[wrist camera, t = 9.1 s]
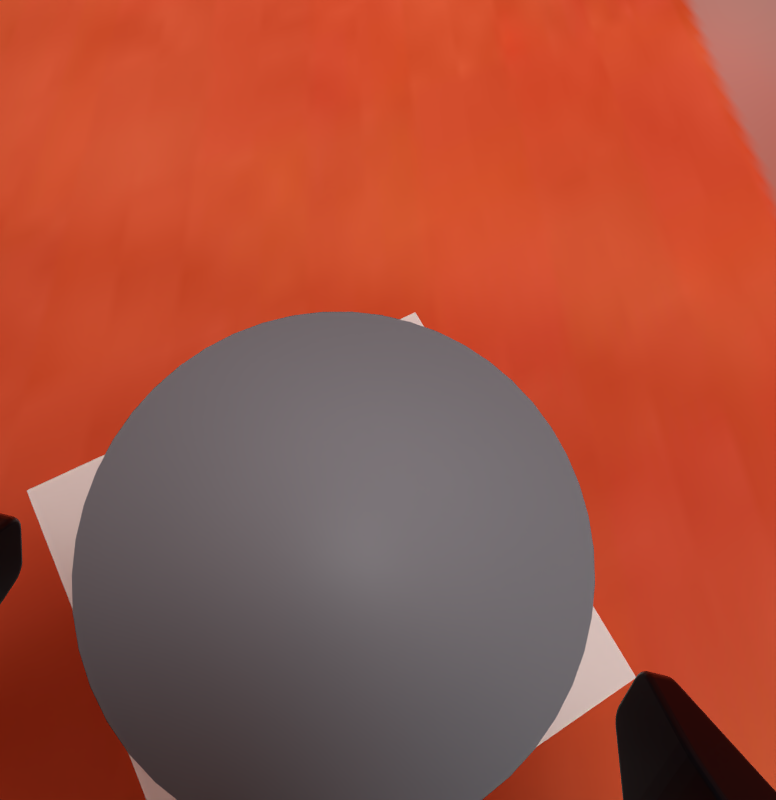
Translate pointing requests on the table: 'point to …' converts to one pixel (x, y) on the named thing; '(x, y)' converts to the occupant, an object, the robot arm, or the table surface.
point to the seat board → (59, 523)
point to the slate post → (333, 569)
